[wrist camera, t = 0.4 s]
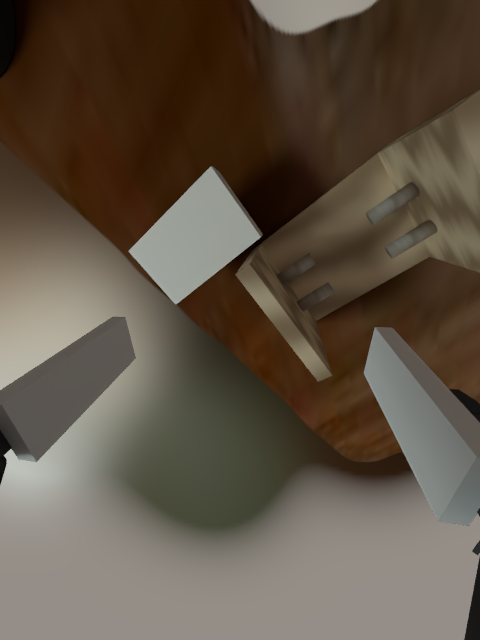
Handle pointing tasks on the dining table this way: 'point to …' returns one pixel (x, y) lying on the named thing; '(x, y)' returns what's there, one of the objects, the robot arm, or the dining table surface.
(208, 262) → the white flat block
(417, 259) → the shelf bay
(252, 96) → the dining table surface
